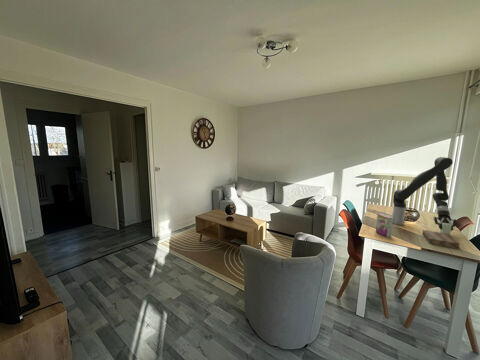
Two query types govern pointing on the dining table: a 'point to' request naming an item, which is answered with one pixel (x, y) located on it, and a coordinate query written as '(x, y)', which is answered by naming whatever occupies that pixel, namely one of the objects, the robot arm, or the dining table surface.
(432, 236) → the walnut plinth
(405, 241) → the dining table surface
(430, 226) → the dining table surface
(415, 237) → the dining table surface
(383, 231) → the candy bar box
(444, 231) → the sage-green block
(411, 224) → the dining table surface
